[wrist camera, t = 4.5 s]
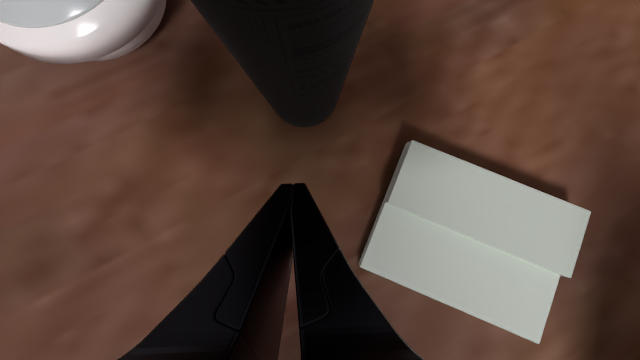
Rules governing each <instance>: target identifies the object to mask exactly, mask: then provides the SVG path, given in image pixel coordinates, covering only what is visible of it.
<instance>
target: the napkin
mask: <svg viewBox="0 0 640 360" xmlns="http://www.w3.org/2000/svg"><path fill="white" fill-rule="evenodd" d="M590 214H591V211H588V210H586V209H583V208H581V207H578V206H576V205H573V204H571V203H568V202H566V201H563V200H561V199H558V198H556V197H553V196H551V195H548V194H546V193H543V192H541V191H538V190H536V189H533V188H531V187H529V186H526V185H524V184H521V183H519V182H516V181H514V180H511V179H509V178H506V177H504V176H501V175H499V174H496V173H494V172H491V171H489V170H486V169H484V168H481V167H479V166H476V165H474V164H471V163H469V162H466V161H464V160H461V159H459V158H456V157H454V156H451V155H449V154H446V153H444V152H441V151H439V150H436V149H434V148H431V147H429V146H426V145H424V144H421V143H419V142H416V141H414V140H412V141H410V142H408V143H406V144H405V146H404V149H403V151H402V154H401V156H400V159H399V162H398V164H397V167H396V169H395V172H394V174H393V177H392V179H391V182H390V185H389V187H388V190H387V192H386V195H385V197H384V200H383V202H382V205H381V207H380V210H379V213H378V215H377V218H376V220H375V223H374V225H373V228H372V230H371V233H370V236H369V238H368V241H367V243H366V246H365V248H364V251H363V253H362V256H361V259H360V261H359V264H358V265H359V266H360V267H361V268H363V269H366V270H368V271H370V272H373V273H375V274H377V275H380V276H382V277H384V278H387V279H389V280H391V281H394V282H396V283H398V284H401V285H403V286H405V287H408V288H410V289H412V290H414V291H417V292H419V293H421V294H424V295H426V296H428V297H431V298H433V299H435V300H438V301H440V302H442V303H445V304H447V305H449V306H452V307H454V308H456V309H459V310H461V311H463V312H466V313H468V314H470V315H473V316H475V317H477V318H479V319H482V320H484V321H486V322H489V323H491V324H493V325H496V326H498V327H500V328H503V329H505V330H507V331H510V332H512V333H514V334H517V335H519V336H521V337H524V338H526V339H528V340H531V341H533V342H535V343H537V344H539V343H540V340H541V337H542V333H543V330H544V327H545V324H546V320H547V317H548V314H549V311H550V307H551V304H552V301H553V298H554V294H555V291H556V288H557V285H558V281H559V278H560V275H561V276H565V277H568V278H571V277H572V273H573V270H574V267H575V264H576V260H577V257H578V254H579V250H580V247H581V244H582V240H583V237H584V234H585V230H586V227H587V224H588V221H589V217H590Z"/></svg>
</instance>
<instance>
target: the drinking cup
mask: <svg viewBox="0 0 640 360" xmlns="http://www.w3.org/2000/svg"><path fill="white" fill-rule="evenodd" d="M191 1H192V3H193V4H194V5H195V7H196V8H197V9H198V11H199V12H200V13H201V15H202V16H203V17H204V18H205V20H206V21H207V22H208V24H209V25H210V26H211V28H212V29H213V30H214V32H215V33H216V34H217V35H218V37H219V38H220V39H221V41H222V42H223V43H224V45H225V46H226V47H227V49H228V50H229V51H230V52H231V54H232V55H233V56H234V58H235V59H236V60H237V62H238V63H239V64H240V65H241V67H242V68H243V69H244V71H245V72H246V73H247V75H248V76H249V77H250V79H251V80H252V81H253V82H254V84H255V85H256V86H257V88H258V89H259V90H260V92H261V93H262V94H263V96H264V97H265V98H266V99H267V101H268V102H269V103H270V105H271V106H272V107H273V109H274V110H275V111H276V113H277V114H278V115H279V116H280V117H281V118H282V119H283V120H284V121H286V122H287V123H289V124H292V125H295V126H299V127H309V126H314V125H317V124H319V123H321V122H323V121H324V120H325V119H327V118H328V117H329V116H330V114H331V113H332V112H333V110H334V108H335V106H336V103H337V100H338V98H339V95H340V92H341V89H342V86H343V84H344V81H345V78H346V75H347V73H348V70H349V67H350V64H351V62H352V59H353V56H354V53H355V51H356V48H357V45H358V42H359V40H360V37H361V34H362V31H363V29H364V26H365V23H366V20H367V18H368V15H369V12H370V9H371V7H372V4H373V1H374V0H191Z"/></svg>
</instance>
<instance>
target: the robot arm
mask: <svg viewBox="0 0 640 360" xmlns="http://www.w3.org/2000/svg"><path fill="white" fill-rule="evenodd" d="M293 258H294V271H295V283H296V296H297V308H298V321H299V330H300V332H299V333H300V347H301V360H424V359H423V358H422V357H421V356H419V355H418V354H417V353H416V352H415V351H413V350H412V349H411V348H410V347H409V346H408V345H407V344H406V343H405V341H404V340H403V339H402V338H401V337H400V336H399V335H398V333H397V332H396V331H395V329H394V328H393V327H392V326H391V324H390V323H389V321H388V320H387V319H386V317H385V316H384V315H383V313H382V312H381V310H380V309H379V308H378V306H377V305H376V304H375V302H374V301H373V299H372V298H371V297H370V295H369V294H368V293H367V291H366V290H365V289H364V287H363V286H362V284H361V283H360V281H359V280H358V278H357V277H356V275H355V274H354V272H353V270H352V269H351V267H350V265H349V264H348V262H347V260H346V258H345V257H344V255H343V253H342V251H341V250H340V248H339V246H338V244H337V242H336V240H335V238H334V236H333V235H332V233H331V231H330V229H329V227H328V225H327V223H326V221H325V220H324V218H323V216H322V214H321V212H320V210H319V208H318V207H317V205H316V203H315V201H314V199H313V197H312V195H311V194H310V192H309V190H308V188H307V186H306V184H305V183H295V184H281V185H280V186H279V187H278V188H277V190H276V191H275V192H274V193H273V195H272V196H271V197H270V198H269V199H268V201H267V202H266V203H265V204H264V206H263V207H262V208H261V209H260V211H259V212H258V213H257V214H256V215H255V217H254V218H253V219H252V220H251V222H250V223H249V224H248V225H247V226H246V228H245V229H244V230H243V231H242V233H241V234H240V235H239V236H238V237H237V239H236V240H235V241H234V242H233V244H232V245H231V246H230V247H229V248H228V250H227V251H226V252H225V255H223V256H222V257H221V258H220V259H219V261H218V262H217V263H216V264H215V265H214V266H213V268H212V269H211V270H210V271H209V272H208V273H207V275H206V276H205V277H204V278H203V279H202V280H201V281H200V282H199V283H198V284H197V286H196V287H195V288H194V289H193V290H192V291H191V292H190V293H189V294H188V295H187V296H186V297H185V298H184V299H183V300H182V301H181V302H180V303H179V304H178V305H177V306H176V307H175V308H174V309H173V310H172V311H171V312H170V313H169V314H168V315H167V316H166V317H165V318H164V319H163V320H162V321H161V322H160V323H159V324H158V325H157V326H156V327H155V328H154V329H153V330H152V331H151V332H150V333H149V334H148V335H147V336H146V337H145V338H144V339H143V340H142V341H141V342H140V343H139V344H138V345H136V346H135V347H134V348H133V349H132V350H130V351H129V352H128V353H126V354H125V355H124V356H122V357H121V358H119V359H118V360H278V354H279V347H280V341H281V334H282V327H283V320H284V314H285V307H286V300H287V294H288V287H289V280H290V273H291V267H292V260H293Z"/></svg>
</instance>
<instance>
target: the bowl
mask: <svg viewBox="0 0 640 360" xmlns="http://www.w3.org/2000/svg"><path fill="white" fill-rule="evenodd" d="M165 7H166V0H0V43H1V44H3V45H5V46H7V47H9V48H11V49H13V50H15V51H17V52H19V53H21V54H23V55H25V56H28V57H30V58H32V59H36V60H39V61H42V62H48V63H55V64H73V63H82V62H87V61H106V60H111V59H115V58H118V57H121V56H124V55H126V54H128V53H130V52H132V51H134V50H135V49H137V48H138V47H140V46H141V45H142V44H143V43H145V42H146V41H147V40H148V39H149V38H150V37H151V35H152V34H153V33H154V32H155V30H156V29H157V27H158V25H159V24H160V22H161V19H162V17H163V14H164V11H165Z"/></svg>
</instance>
